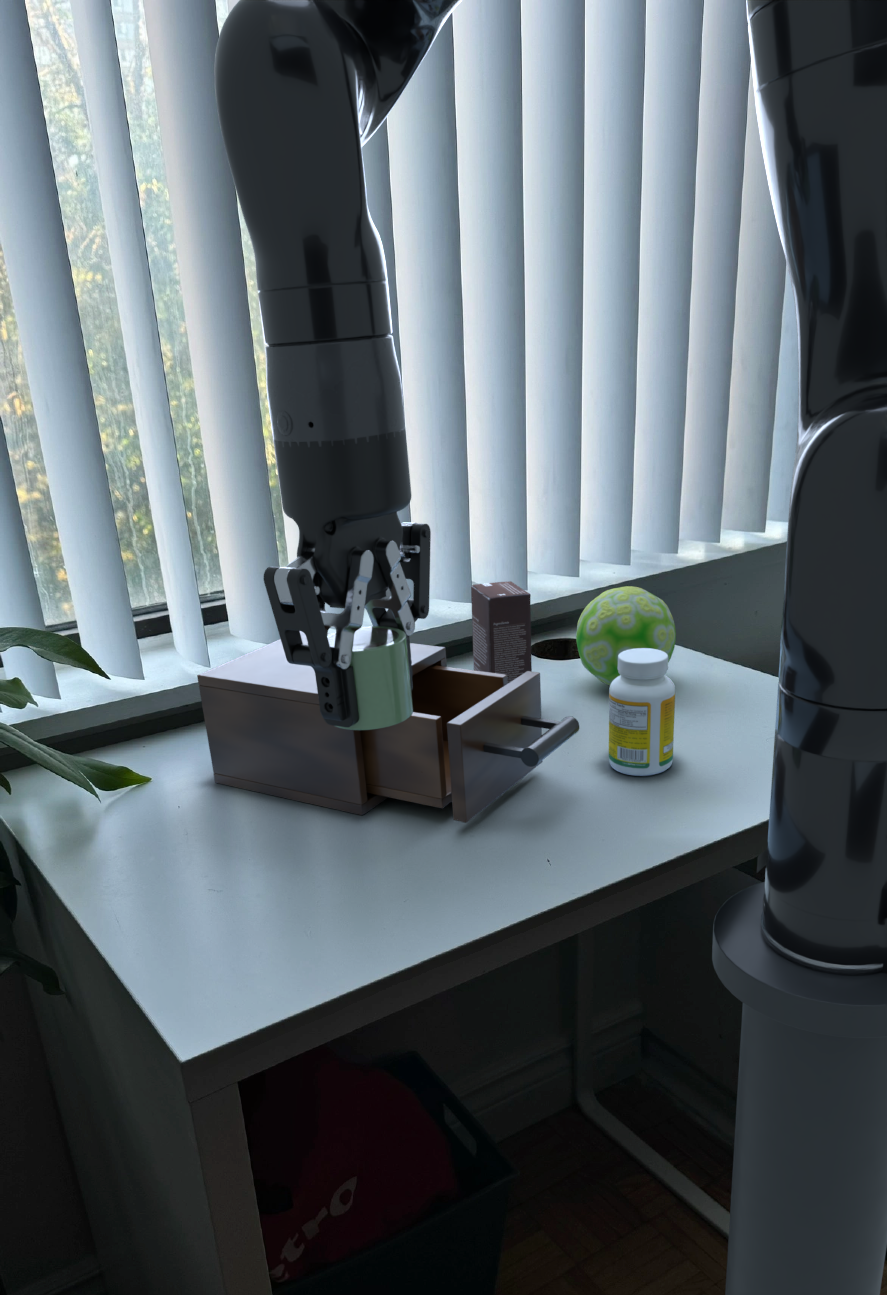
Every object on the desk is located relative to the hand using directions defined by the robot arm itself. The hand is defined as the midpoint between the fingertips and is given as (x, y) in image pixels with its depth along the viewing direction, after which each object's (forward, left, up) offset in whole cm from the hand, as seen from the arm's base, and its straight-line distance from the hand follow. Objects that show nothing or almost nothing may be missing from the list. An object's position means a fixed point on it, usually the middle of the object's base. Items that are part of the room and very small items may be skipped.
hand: (370, 706), depth 68 cm
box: (+10, -34, -14) cm, 39 cm away
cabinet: (+17, -16, -14) cm, 27 cm away
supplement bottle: (-7, -27, -14) cm, 32 cm away
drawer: (+5, -16, -13) cm, 21 cm away
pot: (0, 0, -1) cm, 1 cm away
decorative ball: (+2, -45, -14) cm, 48 cm away
